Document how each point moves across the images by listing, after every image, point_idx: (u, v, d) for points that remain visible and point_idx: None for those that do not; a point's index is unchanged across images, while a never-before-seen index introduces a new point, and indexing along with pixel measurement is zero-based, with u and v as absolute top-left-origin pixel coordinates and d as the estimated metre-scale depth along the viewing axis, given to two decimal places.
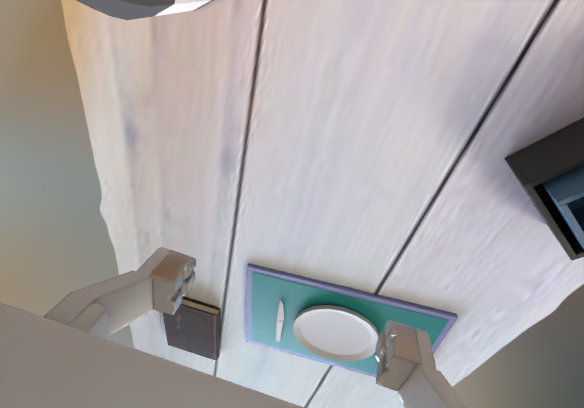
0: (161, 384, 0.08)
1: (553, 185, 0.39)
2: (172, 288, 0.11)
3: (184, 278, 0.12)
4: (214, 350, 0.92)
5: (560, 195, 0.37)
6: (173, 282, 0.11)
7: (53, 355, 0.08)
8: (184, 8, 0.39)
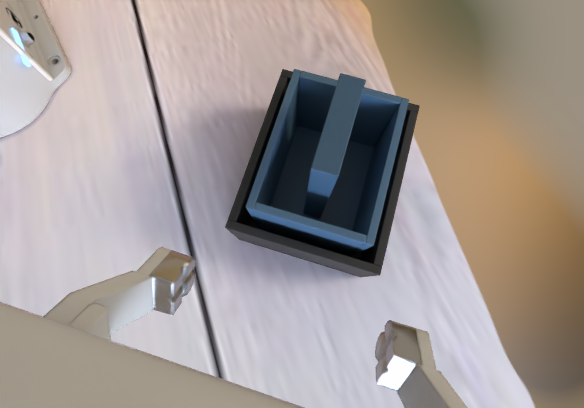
0: (161, 383, 0.08)
1: None
2: (172, 288, 0.11)
3: (184, 278, 0.12)
4: None
5: None
6: (172, 282, 0.11)
7: (53, 355, 0.08)
8: None
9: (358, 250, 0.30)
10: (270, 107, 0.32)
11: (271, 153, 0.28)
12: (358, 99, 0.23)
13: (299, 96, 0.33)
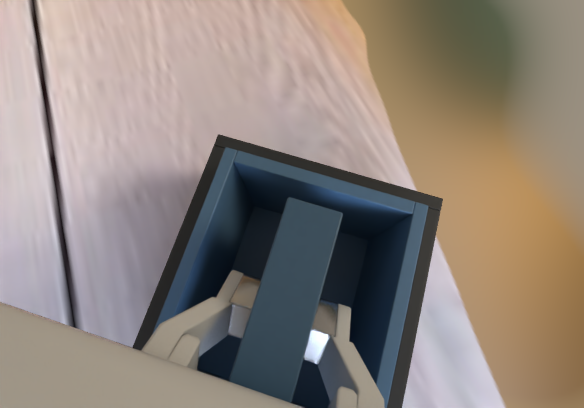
0: (161, 383, 0.08)
1: None
2: None
3: None
4: None
5: None
6: None
7: (53, 355, 0.08)
8: None
9: None
10: (194, 201, 0.19)
11: (172, 315, 0.15)
12: (325, 262, 0.10)
13: (243, 181, 0.20)
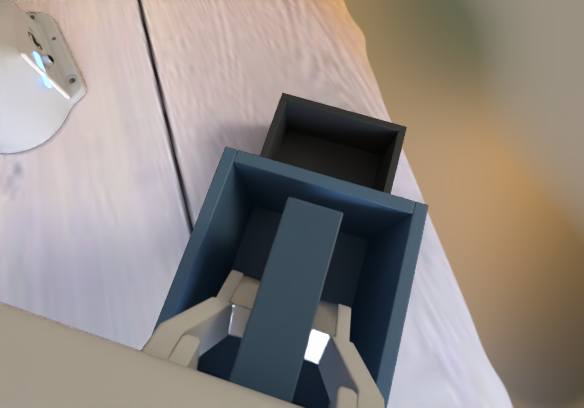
0: (161, 383, 0.08)
1: None
2: None
3: None
4: None
5: None
6: None
7: (53, 355, 0.08)
8: None
9: None
10: (271, 128, 0.35)
11: (172, 315, 0.15)
12: (326, 261, 0.10)
13: (243, 181, 0.20)
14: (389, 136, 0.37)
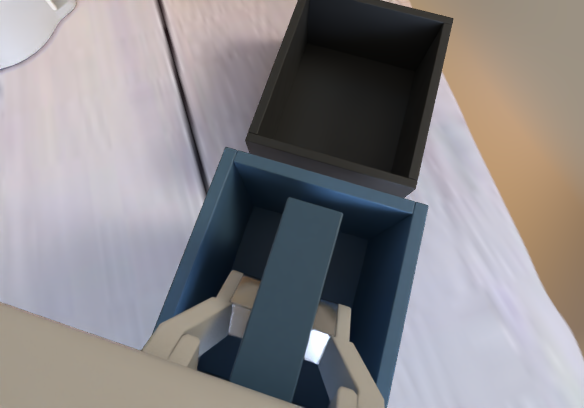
0: (161, 384, 0.08)
1: None
2: None
3: None
4: None
5: None
6: None
7: (53, 355, 0.08)
8: None
9: None
10: (292, 19, 0.30)
11: (172, 316, 0.15)
12: (325, 262, 0.10)
13: (243, 181, 0.20)
14: (431, 34, 0.31)
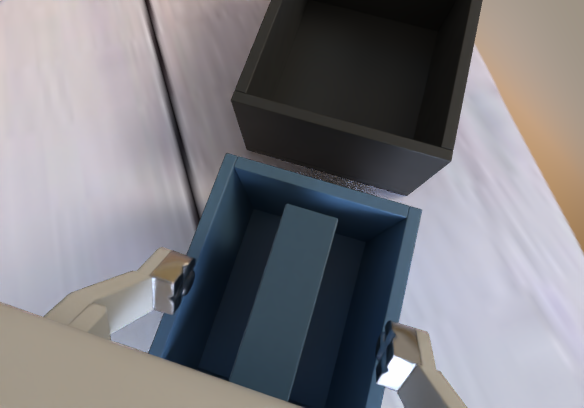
0: (161, 383, 0.08)
1: None
2: (172, 288, 0.11)
3: (184, 278, 0.12)
4: None
5: None
6: (172, 282, 0.11)
7: (53, 355, 0.08)
8: None
9: None
10: None
11: (174, 316, 0.15)
12: (321, 265, 0.11)
13: (243, 185, 0.20)
14: None
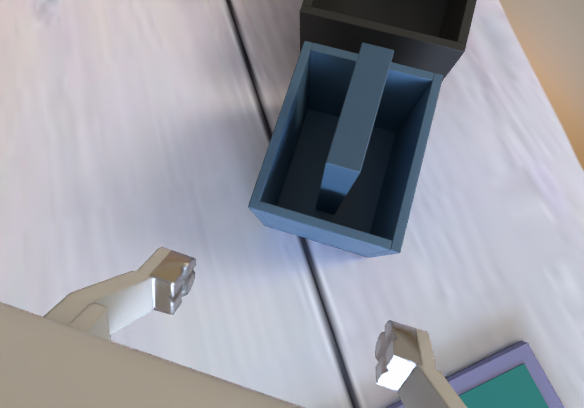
0: (161, 383, 0.08)
1: None
2: (172, 288, 0.11)
3: (184, 278, 0.12)
4: None
5: None
6: (173, 281, 0.11)
7: (53, 355, 0.08)
8: None
9: (379, 254, 0.26)
10: None
11: (278, 142, 0.23)
12: (385, 75, 0.19)
13: (310, 74, 0.28)
14: None
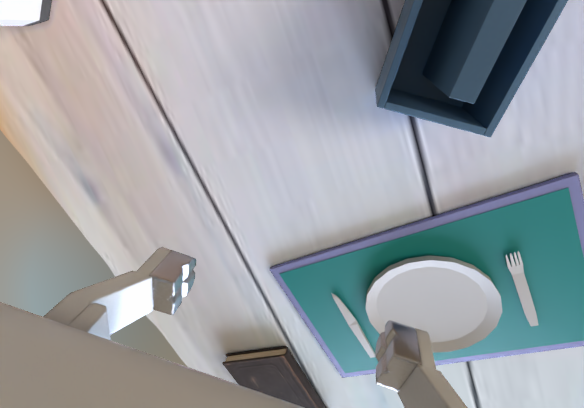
0: (161, 384, 0.08)
1: (379, 92, 0.33)
2: (172, 288, 0.11)
3: (184, 278, 0.12)
4: (316, 407, 0.70)
5: (379, 97, 0.31)
6: (173, 282, 0.11)
7: (53, 355, 0.08)
8: (9, 9, 0.38)
9: None
10: None
11: (404, 49, 0.28)
12: (519, 11, 0.21)
13: None
14: None
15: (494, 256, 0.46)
